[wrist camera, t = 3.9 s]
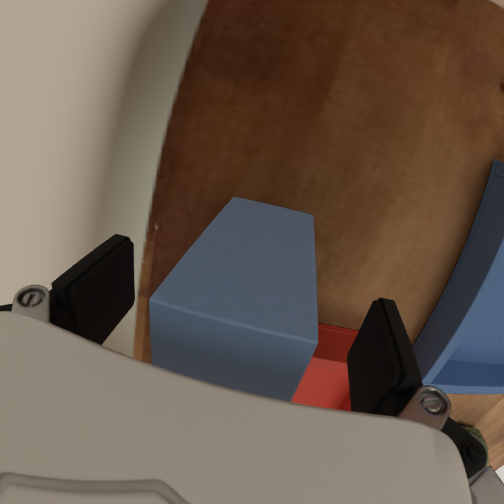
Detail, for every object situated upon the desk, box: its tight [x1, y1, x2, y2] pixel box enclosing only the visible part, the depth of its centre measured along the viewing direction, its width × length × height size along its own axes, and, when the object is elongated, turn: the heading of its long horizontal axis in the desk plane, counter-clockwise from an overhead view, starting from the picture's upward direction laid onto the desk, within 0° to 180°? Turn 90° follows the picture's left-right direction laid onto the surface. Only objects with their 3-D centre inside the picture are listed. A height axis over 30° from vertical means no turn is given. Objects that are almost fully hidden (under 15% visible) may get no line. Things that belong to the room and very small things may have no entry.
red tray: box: [291, 323, 359, 411], centre depth 19 cm, size 14×12×3 cm
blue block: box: [149, 197, 318, 402], centre depth 11 cm, size 4×4×9 cm
